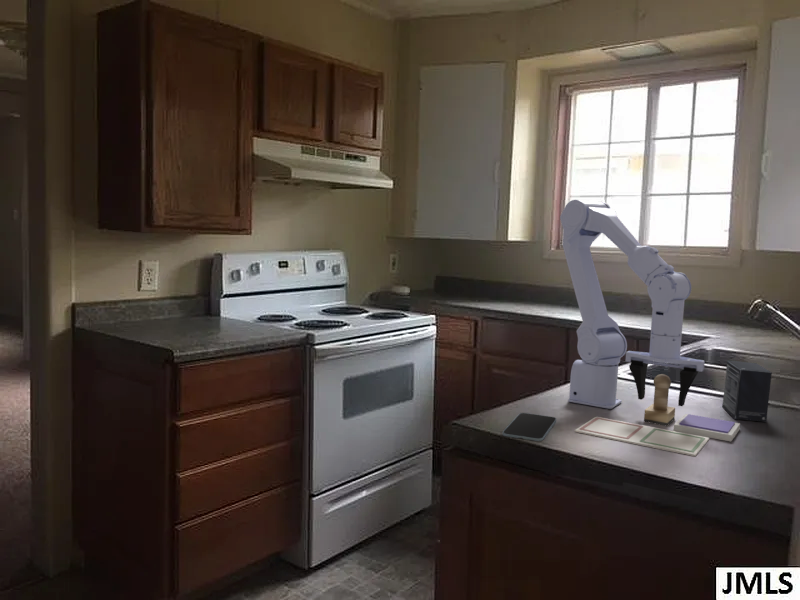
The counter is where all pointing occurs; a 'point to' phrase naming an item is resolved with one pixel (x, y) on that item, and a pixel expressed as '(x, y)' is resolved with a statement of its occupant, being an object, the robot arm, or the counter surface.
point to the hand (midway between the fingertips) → (661, 401)
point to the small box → (746, 391)
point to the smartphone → (530, 426)
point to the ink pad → (707, 427)
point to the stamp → (660, 403)
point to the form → (644, 435)
